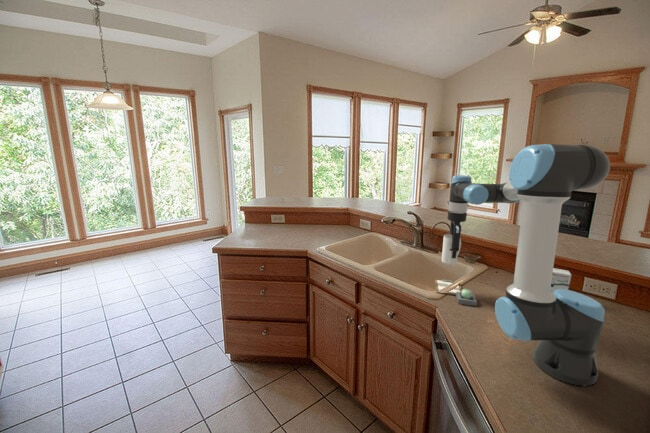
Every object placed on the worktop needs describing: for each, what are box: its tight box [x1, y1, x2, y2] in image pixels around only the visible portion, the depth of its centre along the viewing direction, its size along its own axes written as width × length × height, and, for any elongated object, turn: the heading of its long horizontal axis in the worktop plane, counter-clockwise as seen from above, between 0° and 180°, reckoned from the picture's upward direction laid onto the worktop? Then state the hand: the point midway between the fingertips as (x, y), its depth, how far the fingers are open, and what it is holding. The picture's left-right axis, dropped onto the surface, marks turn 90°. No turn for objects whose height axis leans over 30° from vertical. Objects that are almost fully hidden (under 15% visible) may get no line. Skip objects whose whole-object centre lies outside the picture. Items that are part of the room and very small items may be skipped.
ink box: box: [550, 267, 572, 293], centre depth 132 cm, size 9×5×12 cm, turn 62°
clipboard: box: [434, 279, 463, 297], centre depth 139 cm, size 13×11×1 cm
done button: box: [461, 288, 473, 300], centre depth 127 cm, size 4×4×3 cm
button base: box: [455, 291, 478, 307], centre depth 128 cm, size 7×7×2 cm
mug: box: [441, 233, 462, 266], centre depth 135 cm, size 10×7×12 cm, turn 118°
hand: (451, 260), depth 136 cm, fingers closed on mug, 7 cm apart
